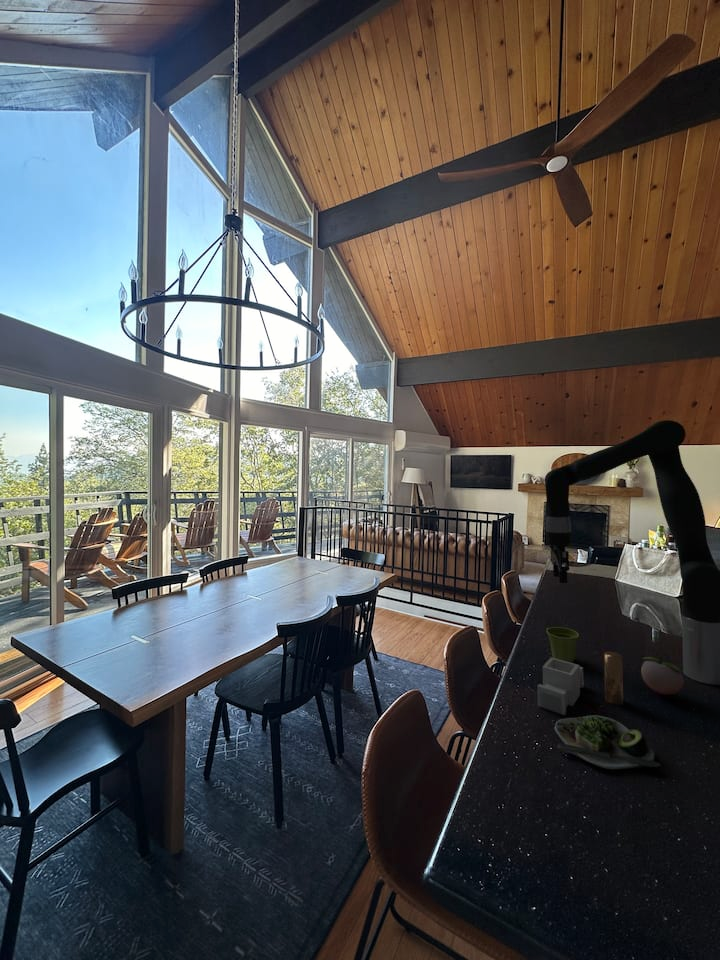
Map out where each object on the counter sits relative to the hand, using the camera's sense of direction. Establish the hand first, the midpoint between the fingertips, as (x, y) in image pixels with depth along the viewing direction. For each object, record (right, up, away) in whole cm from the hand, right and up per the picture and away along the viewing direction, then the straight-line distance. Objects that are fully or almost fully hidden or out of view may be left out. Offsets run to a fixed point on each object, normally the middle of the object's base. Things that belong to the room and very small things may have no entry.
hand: (560, 579), depth 131 cm
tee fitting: (-11, -25, -24) cm, 37 cm away
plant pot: (0, -25, -3) cm, 25 cm away
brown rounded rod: (+1, -25, -27) cm, 37 cm away
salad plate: (-12, -26, -44) cm, 52 cm away
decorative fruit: (+15, -25, -25) cm, 38 cm away
